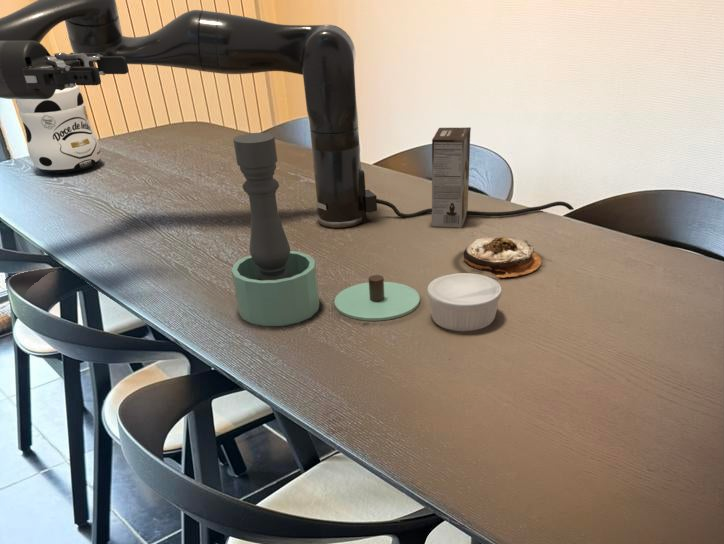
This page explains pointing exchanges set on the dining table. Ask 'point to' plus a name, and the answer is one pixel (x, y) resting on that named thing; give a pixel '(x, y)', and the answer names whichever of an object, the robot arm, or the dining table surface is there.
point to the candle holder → (263, 204)
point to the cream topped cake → (502, 256)
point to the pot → (277, 292)
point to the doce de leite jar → (59, 132)
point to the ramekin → (464, 301)
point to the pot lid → (377, 300)
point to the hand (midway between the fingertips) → (112, 70)
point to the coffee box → (450, 176)
